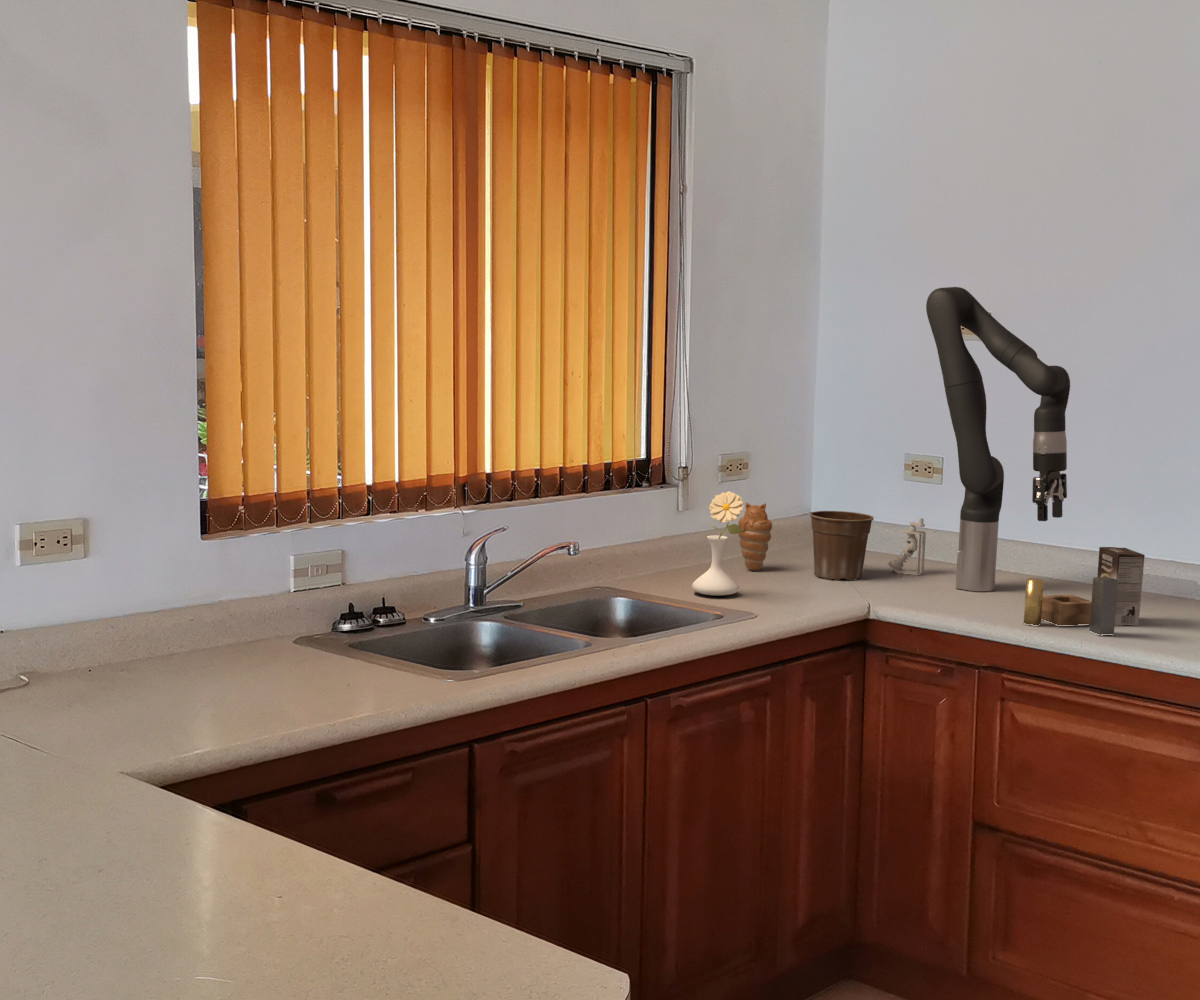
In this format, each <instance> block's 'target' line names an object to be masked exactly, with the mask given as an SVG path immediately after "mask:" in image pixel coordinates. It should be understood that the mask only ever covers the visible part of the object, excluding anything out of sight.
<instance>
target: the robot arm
mask: <svg viewBox="0 0 1200 1000" xmlns="http://www.w3.org/2000/svg"><path fill="white" fill-rule="evenodd" d="M925 305H926V307H925V308H926V309H925V310H926V315H927V316H926V317H927V319H928V324H929V325H930V329H931V333H932V336H933V338H934V341H935V346H936V350H937V354H938V362H939V365H940V370H941V374H942V380H943V388H944V392H945V398H946V401H947V406H948V411H949V417H950V419H951V425H952V429H953V431H954V435H955V440H956V447H957V459H958V470H959V471H958V473H959V479H960V482H961V484H962V485H963V487H964V488H965V489H964V499H963V502H962V505H961V508H960V514H959V531H958V532H959V535H958V549H957V556H956V557H957V560H956V578H955V589H957V590H958V589H959V590H965V591H970V592H991V591H995V586H996V574H997V573H996V569H997V554H998V541H999V540H998V539H999V538H998V537H999V535H998V534H999V521H1000V514H1001V513H1000V512H1001V509H1002V504H1003V497H1004V496H1003V495H1004V494H1003V493H1004V482H1005V471H1004V467H1003V464H1002V463H1001V461H1000V460H999V459H998V458H996V457H995V456H993V455H991V454H992V453H991V451H990V447H989V443H988V439H987V438H988V437H987V427H986V426H987V396H986V390H985V385H984V380H983V376H982V372H981V370H980V368H979V366H978V364H977V363H976V361H975V359H974V357H973V356H972V355H971V353H970V351H969V350H968V348H967V346H966V343H965V341H964V336H963V332H962V328H961V327H963V328H964V329H966V330H968V331H969V332H972V334H974V335H975V337H977V338H978V339H979V340H980V341H981V342H982V343H983V345H984V346H985V348H986V349H987V350H988V352H989V353H990V354H991V356H992V357H993V358H995V359H996V360H997V361H998V362H999V363H1000V364H1001V365H1003V366H1005V367H1006V368H1007V369H1008V370H1010V371H1011V372H1012V373H1014V374H1015V375H1016V376H1017V378H1018V379H1019V380H1020V381H1021V382H1022V383H1023V385H1025V386H1026V388H1028V390H1030V391H1031V392H1032V393H1034V394H1036V395H1037V396H1040V404H1039V406H1038V407H1037V408H1036V409H1035V410H1034V414H1033V438H1032V439H1033V440H1032V470H1033V471H1034V472H1039V475H1038V476H1034V477H1032V498H1031V499H1032V503H1033V504H1035V505H1037V507H1036V509H1037V521H1038V522H1047V521H1048V520H1049V517H1048V515H1049V514H1048V513H1049V512H1048V510H1049V508H1048V507H1049V505H1048V504H1049V501H1050V498H1051V500H1052V502H1051V503H1052V504H1051V505H1052V506H1051V512H1052V513H1051V515H1052V518H1060V519H1061V518H1062V517H1063V502H1064V501H1065V499H1067V497H1068V484H1067V473H1061V472H1065V471H1066V470H1067V469H1068V468H1067V461H1068V457H1067V456H1068V455H1067V452H1068V451H1067V449H1068V448H1067V447H1068V446H1067V443H1068V442H1067V434H1066V410H1067V408H1068V407H1067V406H1068V402H1069V397H1070V391H1071V379H1070V375H1069V373H1068V371H1067V370H1066V369H1065V368H1064V367H1063V366H1060V365H1048V364H1046V363H1045V362H1043V361H1042V360H1041V359H1040V358H1039V357H1038V353H1037V351H1036V350H1035V349H1034V348H1032V347H1031V346H1029V345H1028V344H1027V343H1025V341H1023V340H1022V339H1020V338H1019V337H1018V336H1016V335H1015V334H1014V333H1012V332H1011V331H1009V330H1008V329H1007V328H1006V327H1005V326H1004V325H1002V324H1001V323H1000V322H999V321H998V320H996V318H995V317H994V316H993V315H991V314H990V312H989V311H988V310H987V309H986V308H984V306H983V305H982V304H981V303H980V302H979V301H978V300H977V299H976V298H975V296H973V295H972V293H970V291H968V290H967V289H965V288H964V287H960V286H949V287H948V286H947V287H938V288H936V289H934V290H933V291H931V292H930V293H929V295H928V297H927V300H926V304H925Z"/></svg>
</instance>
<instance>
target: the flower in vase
mask: <svg viewBox="0 0 1200 1000" xmlns="http://www.w3.org/2000/svg"><path fill="white" fill-rule="evenodd" d="M743 504H744V501H743V497H741V496H740V495H739V494H736V493H735V492H731V491H730V490H729V491H726V492H721V493H720V494H715V496H714V498H713V499H711V503H710V504H709V507H708V509H709V513H710V514H711V515H710V517H711V519H713V520H715V521H717V522H719V523H722V524H725V523H726V526H725V527H724V529H723V530H722V531H721V530H720V529H719V528H718V527H717V526H715V525H713V524H711V523H710V522H709V521H707V523H708V524H709V525H710V526H711V527H712V528H714V529H716V530H717V531H719V532H721V533H720V534H719V535H708V536H706V539H707V540H708V542H709V544H710V547H711V548H710V549H711V565H710V567H709V569H708V570H707V571H706V572H704V573H703V574H701V575H700V576H699V577H698V578H696V580H695V581H693V582H692V585H691V588H692V590H693V591H694V592H696V593H698V594H701V595H706V596H716V597H717V596H718V597H719V596H720V597H722V596H731V595H734V594H736V593H738V592H739V591H740V585H739V584H738V582H737V581H736V580H735V579H734V578H733V577H732V576H730V575H729V574H728V573H727V572H726V571H725V570H724V568H723V566H722V555H723V554H722V553H723V550H724V549H723V548H724V544H725V543H726V542H727V540H728V539H729V538H728V536H725V535H723V534H724V532H725V531H726V530H727V531H728V533H729V534H730V535H736V534H737V535H738V533H743V532H742V530H741V529H740V527H739V526H738V523H732V524H730V522H731V521H732V522H733V521H735V520H737V519H738V518H739V517H740V515H741V514H742V512H743V510H744V508H745V506H744V505H743Z"/></svg>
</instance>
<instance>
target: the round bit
mask: <svg viewBox="0 0 1200 1000" xmlns="http://www.w3.org/2000/svg"><path fill="white" fill-rule="evenodd" d="M1025 582H1026V583H1025V597H1024V599H1025V600H1024V611H1023V612H1024V613H1023V614H1024V615H1023V624H1024V623H1026V624H1033V625H1039V624H1041V625H1042V620H1041V615H1042V601H1043V596H1044V584H1045V580H1044V579H1042V578H1037V577H1028V578H1026V581H1025Z"/></svg>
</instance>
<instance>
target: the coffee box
mask: <svg viewBox="0 0 1200 1000" xmlns="http://www.w3.org/2000/svg"><path fill="white" fill-rule="evenodd" d="M1098 549H1099V550H1098V551H1099V552H1098V563H1097V564H1098V566H1097V577H1109V578H1113V579H1116V580H1118V586H1117V600H1116V613H1115V625H1140V612H1141V601H1142V591H1143V590H1142V589H1143V580H1144V579H1143V578H1144V567H1145V557H1146V555H1145V554H1144V553H1141V552H1138V551H1135V550H1132V549H1130V548H1127V547H1115V546H1113V547H1112V546H1099V547H1098Z"/></svg>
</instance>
